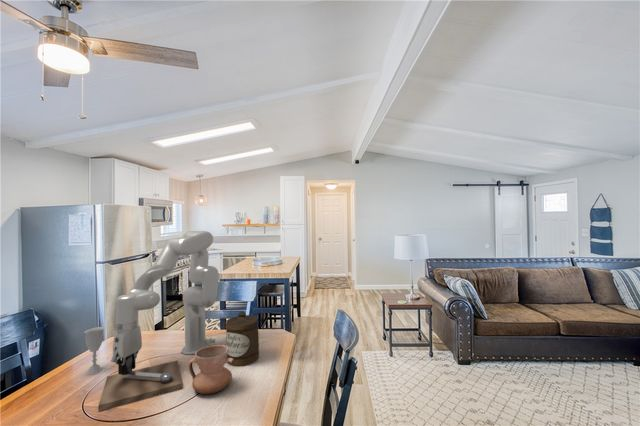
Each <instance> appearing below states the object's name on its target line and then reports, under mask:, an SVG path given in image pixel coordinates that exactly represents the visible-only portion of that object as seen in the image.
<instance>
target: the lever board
mask: <svg viewBox="0 0 640 426" xmlns="http://www.w3.org/2000/svg"><path fill="white" fill-rule="evenodd" d="M132 371H133V372H145V373H158V374H163V373H165V372H173V379H172V380H171V381H169V382H166V383H161V382H160V381H154V380H142V379H130V378H122V375H121V374H118V373H117V374H113V375H109V376H106V380H105V383H104V385H103V390H102V393H101V395H100V399H99V402H98V405H97V406H98V407H97V409H98V412H101V411H105V410H109V409H112V408H116V407H120V406H124V405H128V404H130V402H131V403H134V401H135V402H137V401H142V400H146V399H149V398H152V397H156V396H159V394H160V395H164V394H167V393H171V392H174V391H173V390H175V391H178V390H181V388H182V386H183V384H182V377H181V373H180V366H179V360H177V359H176V360H173V361H169V362H164V363H161V364H156V365H151V366H147V367H143V368H139V369H132ZM177 389H178V390H177ZM170 391H171V392H170ZM163 393H164V394H163ZM141 399H142V400H141ZM123 404H124V405H123Z"/></svg>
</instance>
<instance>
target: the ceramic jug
mask: <svg viewBox="0 0 640 426" xmlns="http://www.w3.org/2000/svg"><path fill="white" fill-rule="evenodd" d="M227 355H228V347H227V346H226V345H224V344H214V345H209V346H207V347H203V348H201V349H199V350H197V351H196V353H195V354H194V356H195V357H192V358H191V359H190V360H189V361H188V372H189V374H190V376H191V378H192V385H191V387H192V389H193V390H194V391H195V392H196V393H198V394H202V395H209V394H215V393H218V392H220V391H222V390H224V389H225V388H227V387H228V385H229V384H230V383H231V382H232V380H233V374H232V371H231V370H230V369H229V368H228V367H225V364H228V363H227V362H230V363H232V361H233V359H232V358H227ZM193 363H194V364H197V367H198V369H199V372H198V373H197V374H196V373H195V371H194V367H193Z"/></svg>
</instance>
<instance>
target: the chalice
mask: <svg viewBox="0 0 640 426" xmlns="http://www.w3.org/2000/svg"><path fill="white" fill-rule="evenodd" d="M104 330H105V327H103V326H99V327H98V326H97V327H93V328H90V329H86V330H85V331H84V332H83V333H84V335H85V345H86V348H88V350H89V352H91V353H92V360H91V362H92V364H91V365H92V366H89V368H88V372H87V373H86V374H87V375H90V376H91V375H96V374H98V373H100V372H101V371H102V367H101V366H100V365H99V364H97V361H98V359H97V356H98V355H97V351H99V349H100V348H101V345H102V343H103V340H104Z"/></svg>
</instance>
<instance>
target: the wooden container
mask: <svg viewBox="0 0 640 426" xmlns="http://www.w3.org/2000/svg"><path fill="white" fill-rule="evenodd" d="M258 320H259V319H258V317H257V316H256V315H251V314H246V311H243V310H241V311H239V312H238V313H237V316H233V317H230V318H228V319H227V320H226V321H225V333H226V337H225V339H226V340H225V342H226V343H225V344H226V345H225V346H227V347H228V355H227V358H232V359H233V361H232V363H230V362H227V363H226V364H228V365H230V366H233V367H244V366H249V365H251V364H253V363H255V362H256V361H258V360H259V358H260V349H259V348H260V342H259V341H260V340H259V338H260V337H259V321H258Z"/></svg>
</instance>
